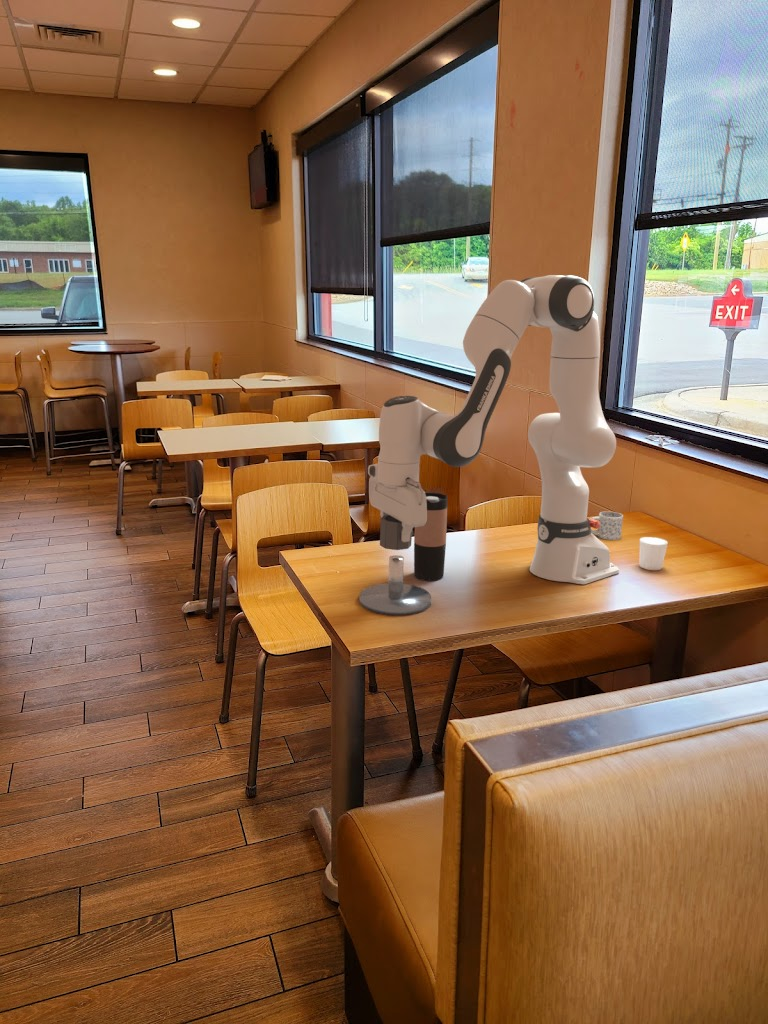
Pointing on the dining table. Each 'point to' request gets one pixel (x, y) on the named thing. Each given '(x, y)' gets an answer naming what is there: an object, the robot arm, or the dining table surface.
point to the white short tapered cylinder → (652, 553)
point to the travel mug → (431, 540)
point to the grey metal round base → (395, 594)
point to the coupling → (392, 534)
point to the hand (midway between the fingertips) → (395, 535)
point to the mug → (608, 525)
